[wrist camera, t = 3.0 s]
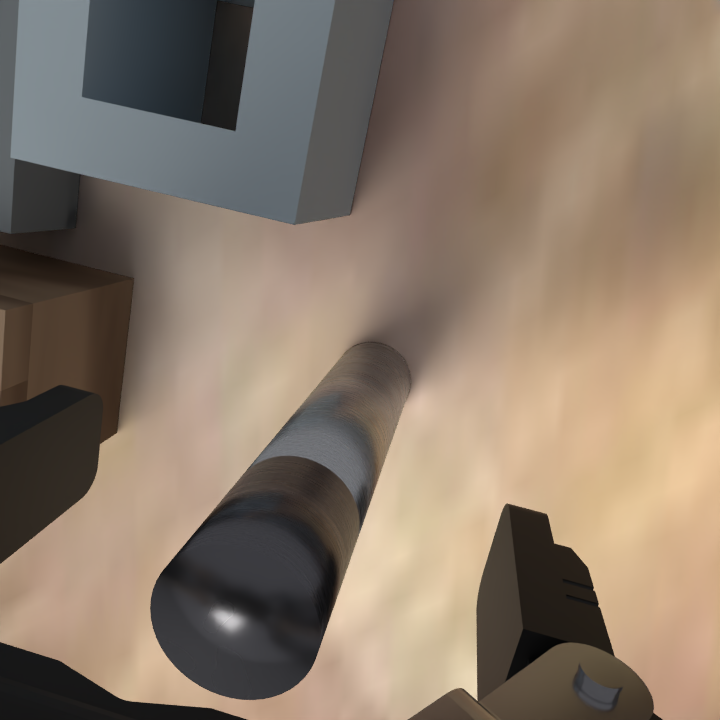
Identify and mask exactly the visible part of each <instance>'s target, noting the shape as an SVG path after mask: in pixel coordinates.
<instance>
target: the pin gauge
mask: <svg viewBox="0 0 720 720" xmlns="http://www.w3.org/2000/svg"><path fill="white" fill-rule="evenodd" d="M410 385H411V377H410V371H409V368H408V366H407V364H406V362H405V360H404V359H403V357H402V356H401V355H400V354H399V353H398V352H397V351H396V350H394V349H393V348H391V347H389V346H387V345H385V344H382V343H377V342H365V343H361V344H358V345H355V346H353V347H352V348H350V349H349V350H347V351H346V352H345V353H344V354H343V356H342V357H341V358H340V359H339V360H338V362H337V363H336V364H335V365H334V366H333V368H332V369H331V370H330V371H329V372H328V374H327V375H326V376H325V377H324V378H323V380H322V381H321V382H320V383H319V384H318V386H317V387H316V388H315V389H314V390H313V392H312V393H311V394H310V395H309V396H308V398H307V399H306V400H305V401H304V402H303V404H302V405H301V406H300V407H299V408H298V410H297V411H296V412H295V413H294V414H293V416H292V417H291V418H290V419H289V420H288V421H287V423H286V424H285V425H284V426H283V427H282V429H281V430H280V431H279V432H278V433H277V435H276V436H275V437H274V438H273V439H272V441H271V442H270V443H269V444H268V445H267V447H266V448H265V449H264V450H263V451H262V453H261V454H260V455H259V456H258V457H257V459H256V460H255V461H254V462H253V463H252V465H251V466H250V467H249V468H248V469H247V471H246V472H245V473H244V474H243V475H242V477H241V478H240V479H239V480H238V481H237V483H236V484H235V485H234V486H233V487H232V489H231V490H230V491H229V492H228V493H227V495H226V496H225V497H224V498H223V499H222V501H221V502H220V503H219V504H218V505H217V507H216V508H215V509H214V510H213V511H212V513H211V514H210V515H209V516H208V517H207V519H206V520H205V521H204V522H203V523H202V525H201V526H200V527H199V528H198V529H197V530H196V532H195V533H194V534H193V535H192V536H191V538H190V539H189V540H188V541H187V542H186V544H185V545H184V546H183V547H182V548H181V550H180V551H179V552H178V553H177V554H176V556H175V557H174V558H173V559H172V560H171V562H170V563H169V564H168V565H167V566H166V568H165V569H164V570H163V571H162V573H161V574H160V576H159V578H158V579H157V581H156V584H155V586H154V589H153V592H152V597H151V607H150V610H151V620H152V625H153V629H154V632H155V635H156V638H157V640H158V642H159V644H160V646H161V648H162V649H163V651H164V653H165V654H166V656H167V657H168V658H169V660H170V661H171V662H172V663H173V664H174V666H175V667H176V668H177V669H178V670H179V671H180V672H181V673H183V674H184V675H185V676H186V677H188V678H189V679H190V680H192V681H193V682H195V683H196V684H198V685H199V686H201V687H203V688H205V689H207V690H209V691H211V692H214V693H216V694H219V695H222V696H226V697H230V698H235V699H242V700H257V699H265V698H270V697H274V696H277V695H280V694H282V693H284V692H286V691H288V690H290V689H291V688H293V687H294V686H296V685H297V684H298V683H299V682H300V681H301V680H302V679H303V678H304V677H305V676H306V675H307V673H308V672H309V671H310V669H311V667H312V666H313V664H314V662H315V659H316V656H317V653H318V651H319V648H320V645H321V642H322V639H323V636H324V633H325V631H326V628H327V625H328V622H329V619H330V616H331V613H332V610H333V608H334V605H335V602H336V599H337V596H338V593H339V590H340V588H341V585H342V582H343V579H344V576H345V573H346V570H347V568H348V565H349V562H350V559H351V556H352V553H353V550H354V548H355V545H356V542H357V539H358V536H359V533H360V530H361V527H362V525H363V522H364V519H365V516H366V513H367V510H368V507H369V505H370V502H371V499H372V496H373V493H374V490H375V487H376V485H377V482H378V479H379V476H380V473H381V470H382V467H383V465H384V462H385V459H386V456H387V453H388V450H389V447H390V445H391V442H392V439H393V436H394V433H395V430H396V427H397V424H398V422H399V419H400V416H401V413H402V410H403V407H404V404H405V402H406V399H407V396H408V393H409V390H410Z"/></svg>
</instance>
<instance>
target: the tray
mask: <svg viewBox="0 0 720 720" xmlns="http://www.w3.org/2000/svg"><path fill="white" fill-rule="evenodd" d="M18 10H19V0H0V231H1V232H5V233H9V234H15V233H26V232H37V231H49V230H60V229H72V228H76V216H77V204H78V192H79V181H80V174H78V173H74V172H70V171H65V170H61V169H57V168H53V167H48V166H44V165H40V164H36V163H32V162H27V161H23V160H19V159H15V158H10V156H11V137H12V119H13V101H14V83H15V65H16V46H17V28H18Z"/></svg>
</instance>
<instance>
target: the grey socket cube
mask: <svg viewBox="0 0 720 720" xmlns="http://www.w3.org/2000/svg"><path fill="white" fill-rule="evenodd" d="M218 1H223V2H228V3H233V4H238V5H243V6H248V7H253V8H254V10H253V17H252V23H251V30H250V37H249V43H248V50H247V57H246V63H245V70H244V77H243V84H242V90H241V97H240V104H239V110H238V117H237V124H236V130H235V131H232V130H228V129H223V128H219V127H214V126H210V125H205V124H201V118H202V110H203V103H204V95H205V88H206V80H207V73H208V66H209V58H210V51H211V43H212V36H213V28H214V21H215V13H216V6H217V0H19V10H18V28H17V46H16V65H15V83H14V101H13V119H12V137H11V156H10V158H15V159H19V160H23V161H27V162H32V163H36V164H40V165H44V166H48V167H53V168H57V169H61V170H65V171H70V172H74V173H78V174H82V175H86V176H91V177H95V178H99V179H103V180H108V181H112V182H116V183H120V184H124V185H129V186H133V187H137V188H141V189H145V190H150V191H154V192H158V193H162V194H167V195H171V196H175V197H179V198H183V199H188V200H192V201H196V202H200V203H205V204H209V205H213V206H217V207H221V208H226V209H230V210H234V211H238V212H243V213H247V214H251V215H255V216H259V217H264V218H268V219H272V220H276V221H281V222H285V223H289V224H293V225H296V224H302V223H308V222H313V221H319V220H325V219H331V218H336V217H342V216H348V215H350V212H351V207H352V202H353V197H354V192H355V188H356V183H357V178H358V173H359V168H360V163H361V158H362V153H363V148H364V144H365V139H366V134H367V129H368V124H369V119H370V114H371V109H372V105H373V100H374V95H375V90H376V85H377V80H378V75H379V70H380V66H381V61H382V56H383V51H384V46H385V41H386V36H387V31H388V26H389V22H390V17H391V12H392V7H393V2H394V0H218Z"/></svg>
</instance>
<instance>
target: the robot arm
mask: <svg viewBox="0 0 720 720" xmlns="http://www.w3.org/2000/svg"><path fill="white" fill-rule="evenodd" d="M102 415H103V401H102V398H101V396H100V395H98V394H96V393H92V392H88V391H84V390H81V389H77V388H73V387H69V386H66V385H58V386H56V387H54V388H52V389H50V390H48V391H46V392H44V393H41V394H39V395H37V396H35V397H33V398H31V399H29V400H27V401H24V402H20V403H15V404H10V405H6V406H1V407H0V564H1V563H2V562H3V561H4V560H6V559H7V558H8V557H9V556H11V555H12V554H13V553H14V552H16V551H17V550H18V549H19V548H21V547H22V546H23V545H24V544H26V543H27V542H28V541H29V540H30V539H32V538H33V537H34V536H35V535H37V534H38V533H39V532H40V531H42V530H43V529H44V528H45V527H47V526H48V525H49V524H50V523H52V522H53V521H54V520H55V519H57V518H58V517H59V516H60V515H62V514H63V513H64V512H65V511H67V510H68V509H69V508H70V507H71V506H73V505H74V504H75V503H76V502H78V501H79V500H80V499H81V498H83V497H84V496H85V494H86V493H87V492H88V490H89V489H90V487H91V485H92V483H93V481H94V479H95V476H96V472H97V467H98V458H99V447H100V437H101V426H102ZM593 588H594V587H593V583H592V580H591V577H590V573H589V570H588V568H587V566H586V565H585V564H584V563H583V562H582V560H581V559H580V558H579V557H578V556H577V555H576V553H575V552H574V551H573V550H572V549H571V548H569V547H565V546H561V545H557V544H554V541H553V537H552V532H551V528H550V524H549V519H548V516H547V514H545V513H541V512H537V511H533V510H530V509H526V508H522V507H518V506H515V505H511V504H506V505H505V506H504V508H503V511H502V513H501V516H500V519H499V523H498V526H497V529H496V532H495V536H494V539H493V542H492V545H491V549H490V552H489V555H488V559H487V562H486V565H485V568H484V572H483V575H482V579H481V583H480V587H479V593H478V599H477V695H478V701H477V700H476V699H474V698H473V697H472V696H471V695H470V694H469V693H468V692H466V691H465V690H464V689H462V688H458V689H454V690H452V691H450V692H448V693H447V694H445V695H444V696H442V697H441V698H439V699H438V700H436V701H435V702H433V703H432V704H430V705H429V706H427V707H426V708H424V709H423V710H421V711H420V712H418V713H417V714H416V715H414V716H413V717H411V718H410V719H408V720H663V719H661V718H660V717H658V716H657V715H655V714H654V713H653V710H654V705H653V699H652V696H651V694H650V692H649V690H648V688H647V686H646V685H645V683H644V682H643V681H642V679H641V678H640V677H639V676H638V675H637V674H636V673H635V672H634V671H633V670H632V669H631V668H630V667H628V666H627V665H626V664H625V663H623V662H622V661H621V660H619V659H617V658H616V657H615V656H614V652H613V649H612V646H611V643H610V639H609V636H608V633H607V629H606V626H605V623H604V619H603V616H602V613H601V610H600V608H599V607H598V604H599V603H598V600H597V596H596V593H595V591H593ZM0 720H247V719H243V718H240V717H237V716H234V715H231V714H227V713H224V712H221V711H218V710H215V709H212V708H201V707H189V706H177V705H165V704H153V703H141V702H131V701H125V700H122V699H120V698H118V697H116V696H114V695H113V694H111V693H110V692H108V691H106V690H105V689H103V688H102V687H100V686H98V685H97V684H95V683H94V682H92V681H90V680H89V679H87V678H86V677H84V676H83V675H81V674H79V673H78V672H76V671H75V670H73V669H71V668H70V667H68V666H67V665H65V664H64V663H62V662H60V661H58V660H55V659H52V658H49V657H45V656H42V655H39V654H36V653H33V652H29V651H26V650H23V649H20V648H17V647H13V646H10V645H7V644H4V643H1V642H0Z"/></svg>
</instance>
